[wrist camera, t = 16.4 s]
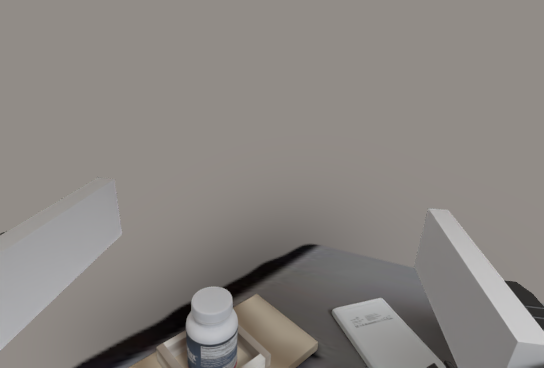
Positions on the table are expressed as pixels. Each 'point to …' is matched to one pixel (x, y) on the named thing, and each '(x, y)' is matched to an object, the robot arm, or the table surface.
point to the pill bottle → (212, 330)
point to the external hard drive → (383, 336)
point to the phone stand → (448, 365)
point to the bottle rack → (247, 341)
